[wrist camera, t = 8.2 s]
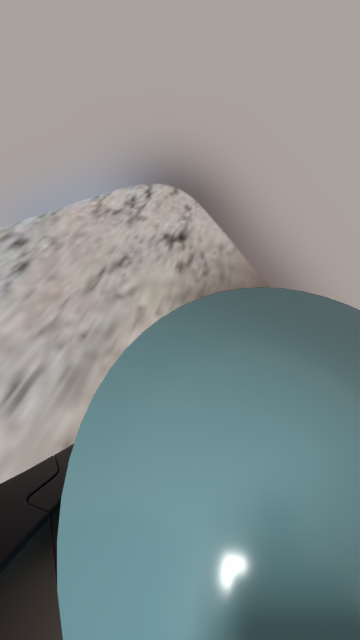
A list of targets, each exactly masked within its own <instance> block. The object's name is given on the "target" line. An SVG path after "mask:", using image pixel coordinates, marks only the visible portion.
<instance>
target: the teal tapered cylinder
mask: <svg viewBox="0 0 360 640" xmlns="http://www.w3.org/2000/svg"><path fill="white" fill-rule="evenodd" d="M57 592H58V601H59V610H60V619H61V628H62V637H63V640H360V310H358V309H355V308H353V307H351V306H349V305H346V304H344V303H341V302H338V301H335V300H332V299H330V298H326V297H323V296H319V295H315V294H311V293H307V292H303V291H296V290H289V289H283V288H264V287H259V288H243V289H235V290H230V291H224V292H219V293H216V294H212V295H209V296H206V297H202V298H199V299H197V300H195V301H192V302H190V303H188V304H186V305H183V306H181V307H179V308H177V309H176V310H174V311H172V312H171V313H169V314H167V315H166V316H164V317H162V318H161V319H159V320H158V321H157V322H156V323H154V324H153V325H152V326H150V327H149V328H148V329H147V330H145V331H144V332H143V333H142V334H141V335H140V336H139V337H138V338H137V339H136V340H135V341H134V342H133V343H132V344H131V345H130V346H129V347H128V348H127V349H126V350H125V351H124V352H123V353H122V355H121V356H120V357H119V359H118V360H117V361H116V362H115V364H114V365H113V366H112V367H111V369H110V370H109V371H108V373H107V375H106V376H105V378H104V380H103V381H102V383H101V385H100V386H99V388H98V390H97V391H96V393H95V394H94V396H93V399H92V401H91V403H90V405H89V407H88V409H87V412H86V414H85V416H84V418H83V420H82V423H81V425H80V428H79V431H78V434H77V437H76V440H75V443H74V446H73V449H72V452H71V455H70V458H69V463H68V468H67V473H66V478H65V482H64V487H63V492H62V497H61V506H60V516H59V526H58V536H57Z"/></svg>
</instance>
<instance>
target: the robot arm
mask: <svg viewBox="0 0 360 640" xmlns="http://www.w3.org/2000/svg"><path fill="white" fill-rule="evenodd" d="M73 446H74V444H73V445H71V446H69V447H67V448H66V449H64V450H62V451H61V452H59V453H57V454H55V455H54V456H51V457H50V458H48V459H46V460H44V461H43V462H41V463H39V464H37V465H36V466H34V467H32V468H30V469H28V470H27V471H25V472H23V473H21V474H19V475H17V476H15V477H13V478H11V479H9V480H7V481H5V482H3V483H1V484H0V640H63V637H62V628H61V619H60V610H59V601H58V592H57V536H58V526H59V516H60V506H61V497H62V492H63V487H64V482H65V478H66V473H67V468H68V463H69V458H70V455H71V452H72V449H73Z"/></svg>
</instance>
